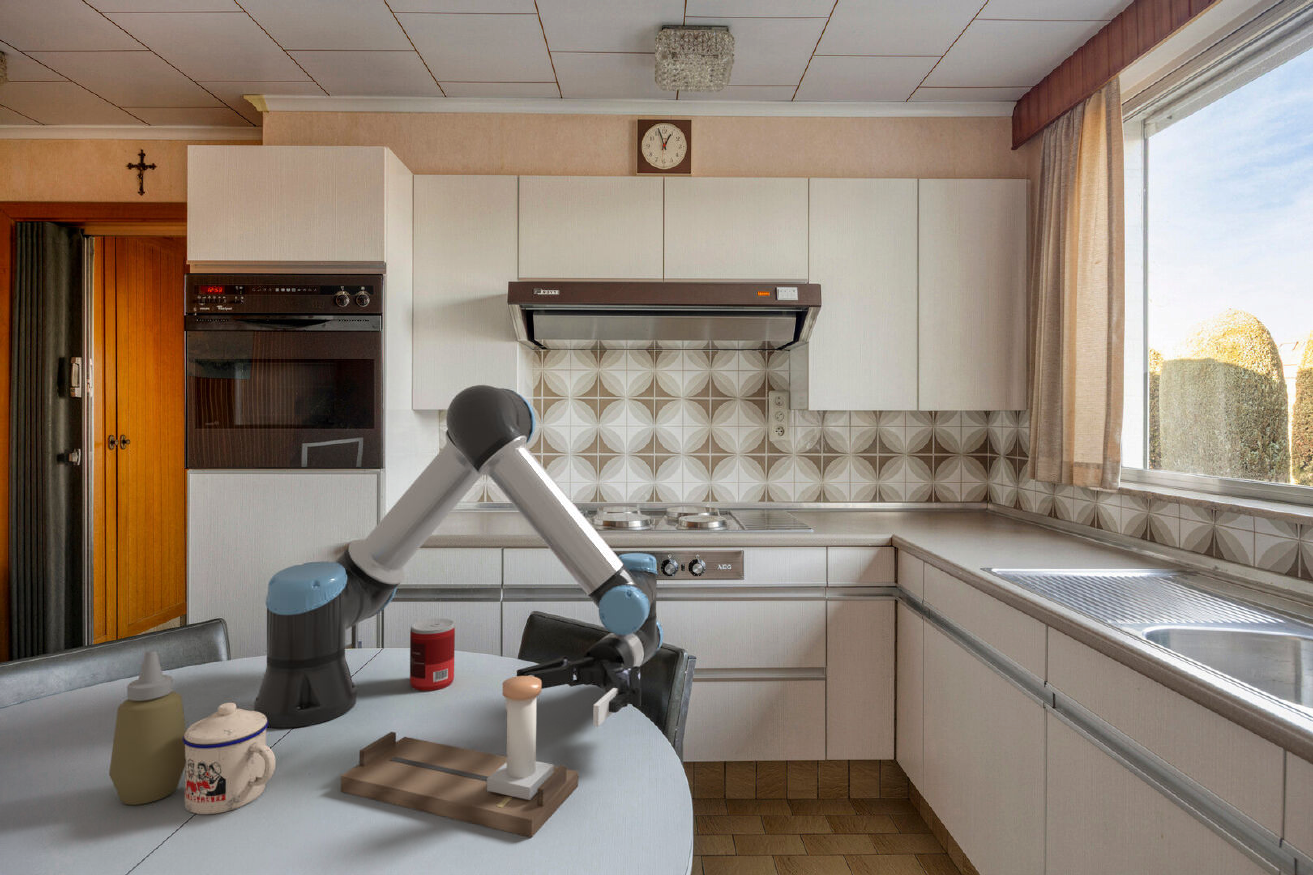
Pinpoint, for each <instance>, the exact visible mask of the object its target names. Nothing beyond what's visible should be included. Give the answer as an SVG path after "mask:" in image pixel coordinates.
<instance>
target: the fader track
mask: <svg viewBox="0 0 1313 875" xmlns="http://www.w3.org/2000/svg"><path fill="white" fill-rule="evenodd" d="M396 740H397V732H395V731H390V732H388V733H387V734H385V735H384V736H382V737H380V738H378V739H377V740H375V741H373V742H372V743H369V744H368V745H366V746H365V747H363V748H361V749H359V754H358V755H359V756H358V757H359V761H358V762H359V764H358V765H356V766H355V767H353V768H351V769H350V770H347V771H346V772H345V773H343V774H342V775H340V792H341V793H346V794H350V795H355V796H359V797H362V798H367V799H371V800H374V801H375V800H376V801H379V802H384V803H388V804H392V805H395V806H400V807H404V808H407V809H408V808H409V809H413V810H416V811H420V812H425V813H429V814H433V815H437V816H441V817H445V818H449V819H455V820H457V821H463V822H466V823H470V824H473V825H474V824H475V825H479V826H482V827H483V826H484V827H486V828H491V829H496V830H500V831H503V832H507V833H512V834H516V835H520V836H525V837H529V838H533V837H534V836H535V835H536V834H537V832H538V831H539V830H540V829H541V828H542V827H543V826H544V825H545V823H546V822H547V821H548V820H549V819H550V818H551V817H552V816H553V815H554V813H555V812H556V811H557V810H558V809H560V807H561V806H562V805H563V803H565V801H566V800H567V799H568V798H569V797H570V796H571V795H572V794H573V792H574V791H575V790H576V789H577V788H578V787H579V771H578V770H573V769H570V768H567V766H566V765H561V764H560V765H559V766H554V773H553V774H552V775H551V776H550V777H549V778H548V779H547V780H546V781H544V782H543V783H542V784H541V785H540V786H539V787H538V789H537V793H536V794H535V795H534V796H533V797H532V798H531V799H530V800H527V799H523V798H518V797H514V796H509V795H505V794H500V793H496V792H491V791H487V778H488V777H489V776H491V775H492V774H493V773H494V772H495V771H497V770H498V769H499V768H500V767H501V766H502V765H504V764H505V763H506V762H507V756H504V755H499V754H493V753H489V752H483V751H479V750H473V749H469V748H463V747H460V746H454V745H449V744H443V743H438V742H433V741H427V740H423V739H419V738H418V739H417V738H414V737H407V736H403V737H401V738H400V739H398V740H397V741H396ZM549 817H550V818H549Z"/></svg>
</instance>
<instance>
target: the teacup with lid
mask: <svg viewBox="0 0 1313 875" xmlns="http://www.w3.org/2000/svg"><path fill="white" fill-rule="evenodd" d="M267 728H268V720H267V718H266V716H265V715H264V714H262V713H260V712H256V711H254V710H246V709H242V708H237V704H236V703H234V702H226V703H222V704H221V705H219V706H218V707H217V711H216V712H214V713H212V714H211V715H209V716H207V717H205V718H202V719H200V720H198V721H196V722H194V723H192V724H191V725H189V727H188V728H187V729H186V732H185V734H184V737H183V742H184V744H185V768H184V807H185V809H186V810H187V811H189V812H191V813H194V814H198V815H212V814H214V815H215V814H216V815H217V814H220V813H226V812H230V811H233V810H236V809H238V808H239V809H240V808H241V807H243V806H245V805H248V804H249V803H252V802H253V801H255V800H256V799H257V798H259V797H260V796H261V795H262V794H263V792H264V791H265V788H266V783H267V782H268V781H269V780H270V779H271V778H272V776H274V775H273V774H274V772H275V770H276V763H277V762H276V756H275V754H274V752H273V750H272V749H271V748H270V747H269V746H267Z"/></svg>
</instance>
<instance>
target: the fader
mask: <svg viewBox="0 0 1313 875" xmlns="http://www.w3.org/2000/svg"><path fill="white" fill-rule="evenodd" d="M541 683H542V682H541V680H540V679H539V678H537V677H533V676H517V675H516V676H512V677H510V678H507V679H506V680H504V681H503V683H502V696H503V697H504V698H505V697H506V698H507V710H506V711H507V712H506V713H507V714H506V757H507V762H506V763H505V764H504V765H502V766H501V767H500V768H499V769H498V770H497V771H495V772H494V773H493V774H492V775H491V776H489V777H488V778H487V791H491V792H496V793H500V794H505V795H509V796H514V797H518V798H523V799H527V800H530V799H531V798H532V797H533V796H534V795H535V794H536V793H537V789H538V787H539V786H540V785H541V784H542V783H543V782H544V781H546V780H547V779H548V778H549V777H550V776H551V775H552V774H553V773H554V767H555V765H554V764H552V763H548V762H547V763H546V762H541V761H537V759H536V758H537V697H538V696H540V695H541V693H542V689H541Z"/></svg>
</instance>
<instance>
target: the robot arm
mask: <svg viewBox="0 0 1313 875" xmlns="http://www.w3.org/2000/svg"><path fill="white" fill-rule="evenodd" d="M445 420H446V421H445V422H446V427H447V429H446V431H445V433H444V434H445V436H444V437H445V441H446V442H445V445H444V446H443V448H441V450H440V451H439V452H438V454H437V455H436V456H435V457H433V459H432V460H431V462H430V463H429V464H428V465H427V466H426V467H425V468H424V470H423V471H422V472H421V473H420V474H419V475H418V477H417V478H416V479H415V480H414V481H413V483H412V484H411V485H410V486H409V487H408V489H407V490H406V491H405V492H404V493H403V494H402V495H401V497H400V498H399V499H398V500H397V501H396V502H395V503H394V505H393V506H392V507H391V508H390V509H389V511H388V512H387V513H386V514H385V516H384V517H382V519H381V520H380V521H379V523H377V525H376V526H375V527H374V528H373V530H372V531H371V532H370V533H369V534H368V535H367V536H366V538H365V539H364V538H363V539H354V540H353V541H351V542H350V543H349V544H348V546H347V547H346V548H345V549H344V550H343V552H342V553H341V554H340V555H339V556H338V558H336V560H334V561H327V560H326V561H323V560H322V561H311V562H310V561H309V562H305V563H302V564H295V565H292V566H291V565H290V566H288V567H286V568H283V569H281V570H279V571H278V572H276V573H274V574H273V575H272V576H271V578H270V579H269V582H268V583H267V584H268V585H267V595H266V598H265V605H266V668H265V672H264V674H263V678H262V681H261V684H260V689H259V692H258V695H257V696H256V698H255V699H254V702H253V711H256V712H260V713H262V714H264V715H265V716H266V718H267V720H268V726H267V728H268V727H270V728H278V729H279V728H281V729H282V728H283V729H284V728H285V729H286V728H298V727H300V728H301V727H306V726H311V725H316V724H320V723H324V722H327V721H330V720H333V719H336V718H338V717H341V716H342V715H344V714H346V713H347V712H350V710H352V708H354V706H355V705H356V703H357V689H356V685H355V683H354V681H353V679H352V675H351V671H350V668H349V665H348V662H347V659H346V630H348V629H350V628H351V627H354V626H355V625H357V624H359V623H361V622H363V621H365V620H367V619H369V618H372V617H374V616H376V615H377V614H379V613H380V612H382V611H383V610H384V609H385V608H386V607H387V606H388V605H389V604H390V602H391V601H392V600H393V599H394V597H395V594H396V591H397V589H398V586H399V585H400V584H401V582H402V581H403V580H404V578H405V570H404V567H405V566H406V564H407V563H408V562H409V561H410V560H411V558H412V557H414V555H415V554H416V553H417V551H418V550H419V549H420V548H421V547H422V546H423V545H424V544H425V543H426V541H427V540H428V538H429V537H430V536H431V535H432V534H433V533H434V532H435V531H436V529H437V528H438V527H439V526H440V525H441V524H442V523H443V521H445V519H446V518H447V517H448V515H450V514H451V512H452V511H453V510H454V509H455V507H457V505H458V504H460V502H461V501H462V499H463V498H464V497H465V496H466V495H467V493H468V492H469V491H470V490H471V489H472V487H474V485H476V483H477V482H478V481H479V479H480V478H482V476H488V477H489V478H490V479H491V480H492V481H493V482H494V483H495V485H496V486H497V487H498V488H499V490H500V491H501V492H502V493H503V495H504V496H505V497H506V498H507V499H508V500H509V501H510V504H512V505H513V507H514V508H515V509H516V510H517V511H518V513H519V514H520V515H521V516H522V517H523V519H524V520H525V521H526V522H527V523H528V524H529V526H530V527H531V528H532V529H533V531H534V532H535V533H536V534H537V535H538V537H539V538H540V540H542V542H543V543H544V544H545V545H546V547H548V549H549V550H550V551H551V552H552V553H553V555H554V556H555V557H556V559H558V561H559V562H560V563H561V564H562V565H563V567H564V568H565V569H566V570H567V572H568V573H569V574H570V575H571V576H572V577H573V579H574V580H575V581H576V582H577V584H579V586H580V587H581V589H582V590H583V591H584V592H585V593H586V594H587V596H588V597H589V599H590V600H591V601H592V602H593V603H594V605H595V606H596V607H597V608H598V616H599V619H600V622H601V624H602V627H604V629H606V630H607V631H609V634H607V635H606V636H604V637H602V638H601V639H600V640H599V641H597V642H596V643H594V644H593V645H591V646H590V647H589V648H588V650H587V651H586V653H585V655H584V657H583V658H581V659H577V660H575V661H573V660H572V661H570V660H569V659H570V658H569V656H567V655H562V656H560V657H559V658H557V659H553V660H549V661H547V662H545V661H544V662H542V663H538V664H535V665H532V666H531V665H530V666H527V667H523V668H520V669H517V670H516V677H517V676H533V677H537V678H539V679H540V680H541V682H542V683H541V690H543V689H547V688H554V687H558V686H559V687H560V686H564V685H568V686H569V687H577V686H581V685H585V686H591V685H592V686H595V687H597V688H600V689H603V690H604V691H605V694H604V695H603V696H602V697H601V698H600V699H599V700H598V701H597V702H595V703H594V704H593V710H592V711H593V712H592V713H593V716H592V717H593V721H592V722H593V724H592V725H593V726H595V727H599V726H600V725H602V724H603V722H605V720H607V719H608V718H609V717H610V716H611V715H612V714H613V713H618V712H619V711H620V710H621V709H622V708H627V707H628V705H632V707H633V708H641V707H642V686H641V666H642V665H644V664H646V662H648V661H649V660H651V659H652V658H653V657H654V656H656V654H657V652H658V651H659V650H660V648H661V646H662V644H663V642H664V637H665V636H664V630H663V627H662V626H661V623H660V622H659V620H658V619H657V593H658V592H657V588H658V586H657V585H658V583H657V580H658V575H659V574H658V573H659V572H658V571H657V570H658V568H657V565H658V564H657V559H656V557H655V556H653V555H652V554H650V553H649V554H648V553H641V552H634V553H631V552H630V553H624V554H620V555H617V554H616V553H615V552H614V551H613V549H612V548H611V547H610V546H609V545H608V543H607V542H606V540H604V538H603V537H602V535H600V533H599V532H598V531H597V530H596V528H594V526H593V525H592V524H591V523H590V521H589V520H588V519H587V518H586V517H585V516H584V514H583V513H582V512H581V511H580V510H579V509H578V507H577V506H576V505H575V504H574V502H573V501H572V500H571V498H570V497H569V496H568V495H567V494H566V493H565V492H564V490H563V489H562V488H561V487H560V485H559V484H558V483H557V481H555V479H554V478H553V477H552V476H551V474H550V473H549V472H548V471H547V469H546V468H545V467H544V465H542V464H541V462H540V461H539V460H538V459H537V458H536V457H535V455H534V454H533V453H532V452H531V450H529V448H528V447H527V444H528V443H529V442H530V441H531V439H532V437H533V436H534V433H535V430H536V416H535V411H534V409H533V407H532V405H531V404H530V403H529V401H528V400H527V399H526V398H525V397H524V396H523V395H521V394H519V393H517V391H514V390H511V389H509V388H504V387H502V388H501V387H500V388H499V387H494V386H492V385H485V384H478V385H472V386H469V387H466V388H464V389H463V390H461V391H460V392H458V393H457V394H456V395H455V396H454V398H453V399H452V400H451V402H450V403H449V406H448V408H447V411H446V419H445ZM574 676H575V678H576V679H574ZM625 681H626V682H625ZM628 689H629V690H628ZM504 698H505V702H504V705H505V706H504V709H505V710H506V711H507V698H506V697H504Z"/></svg>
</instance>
